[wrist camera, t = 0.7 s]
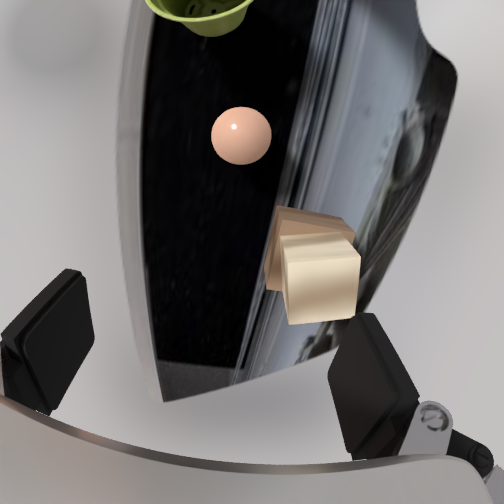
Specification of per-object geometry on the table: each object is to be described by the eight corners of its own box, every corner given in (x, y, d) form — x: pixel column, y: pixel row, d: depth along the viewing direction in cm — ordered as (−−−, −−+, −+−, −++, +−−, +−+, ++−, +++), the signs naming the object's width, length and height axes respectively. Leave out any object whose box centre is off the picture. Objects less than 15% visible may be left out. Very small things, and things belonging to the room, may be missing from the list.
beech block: (280, 236, 26) (287, 262, 21) (340, 231, 26) (360, 256, 21) (282, 290, 28) (288, 324, 23) (337, 284, 28) (354, 317, 23)
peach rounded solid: (222, 108, 26) (216, 103, 21) (271, 115, 26) (275, 112, 21) (214, 155, 28) (207, 160, 23) (263, 162, 28) (265, 168, 23)
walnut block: (276, 204, 30) (282, 219, 25) (340, 217, 30) (355, 233, 26) (264, 266, 33) (266, 289, 28) (323, 275, 33) (334, 298, 28)
